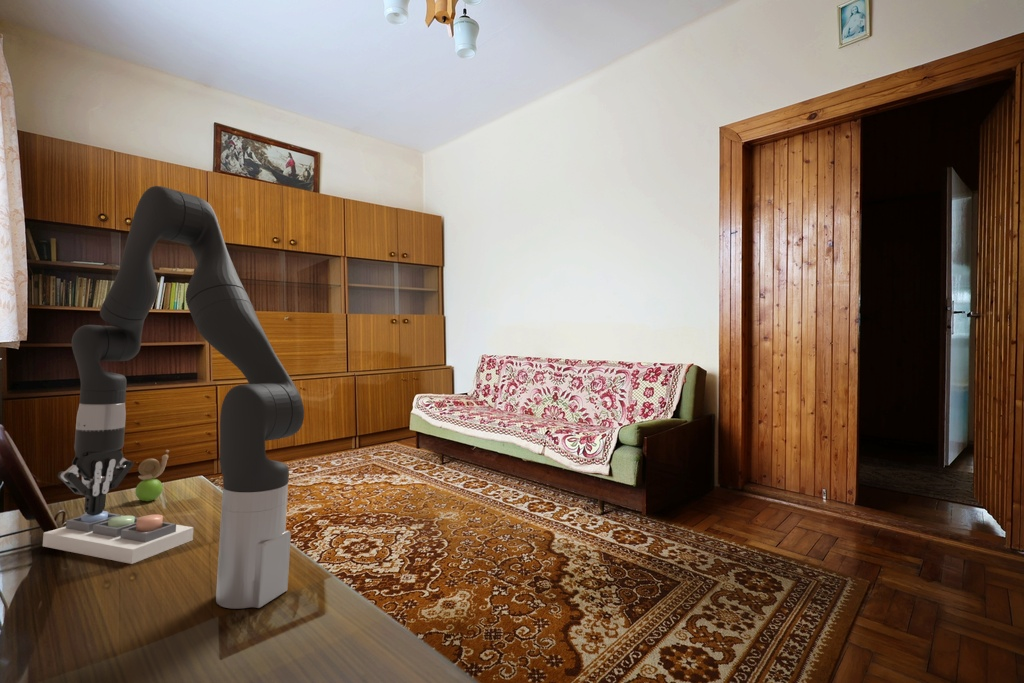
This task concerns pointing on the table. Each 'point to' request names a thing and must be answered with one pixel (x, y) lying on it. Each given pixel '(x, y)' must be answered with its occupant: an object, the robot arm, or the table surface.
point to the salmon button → (149, 523)
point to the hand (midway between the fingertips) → (94, 513)
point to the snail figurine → (150, 478)
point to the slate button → (94, 517)
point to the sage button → (121, 521)
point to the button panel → (116, 539)
